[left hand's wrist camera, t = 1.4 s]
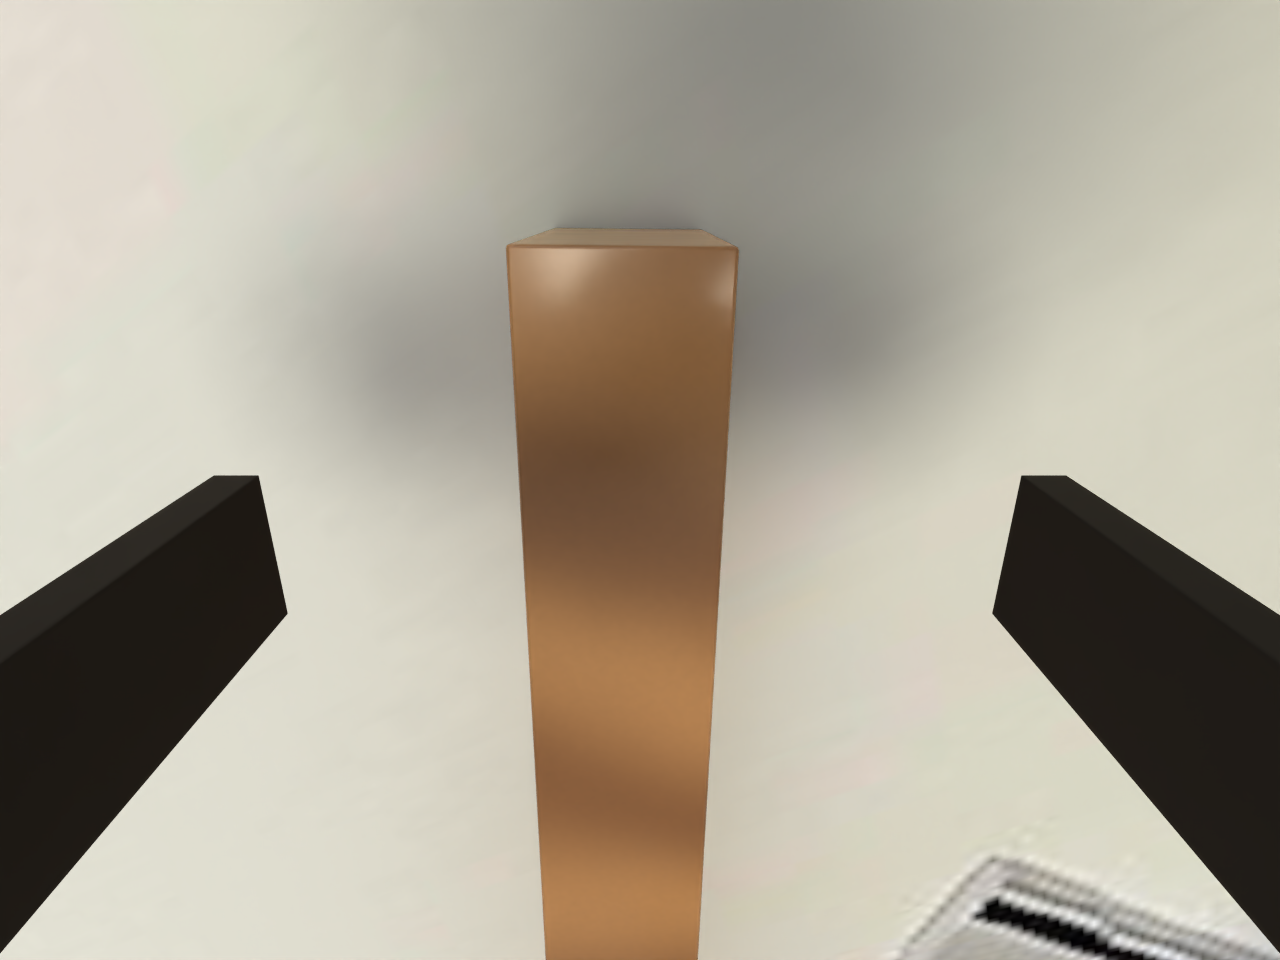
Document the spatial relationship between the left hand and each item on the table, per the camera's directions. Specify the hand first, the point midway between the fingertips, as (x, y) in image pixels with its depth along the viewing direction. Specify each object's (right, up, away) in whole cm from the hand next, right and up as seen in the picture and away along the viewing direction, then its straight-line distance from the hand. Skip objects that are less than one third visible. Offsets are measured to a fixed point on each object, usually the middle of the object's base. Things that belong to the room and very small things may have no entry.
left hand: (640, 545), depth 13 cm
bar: (-1, -27, +23) cm, 36 cm away
